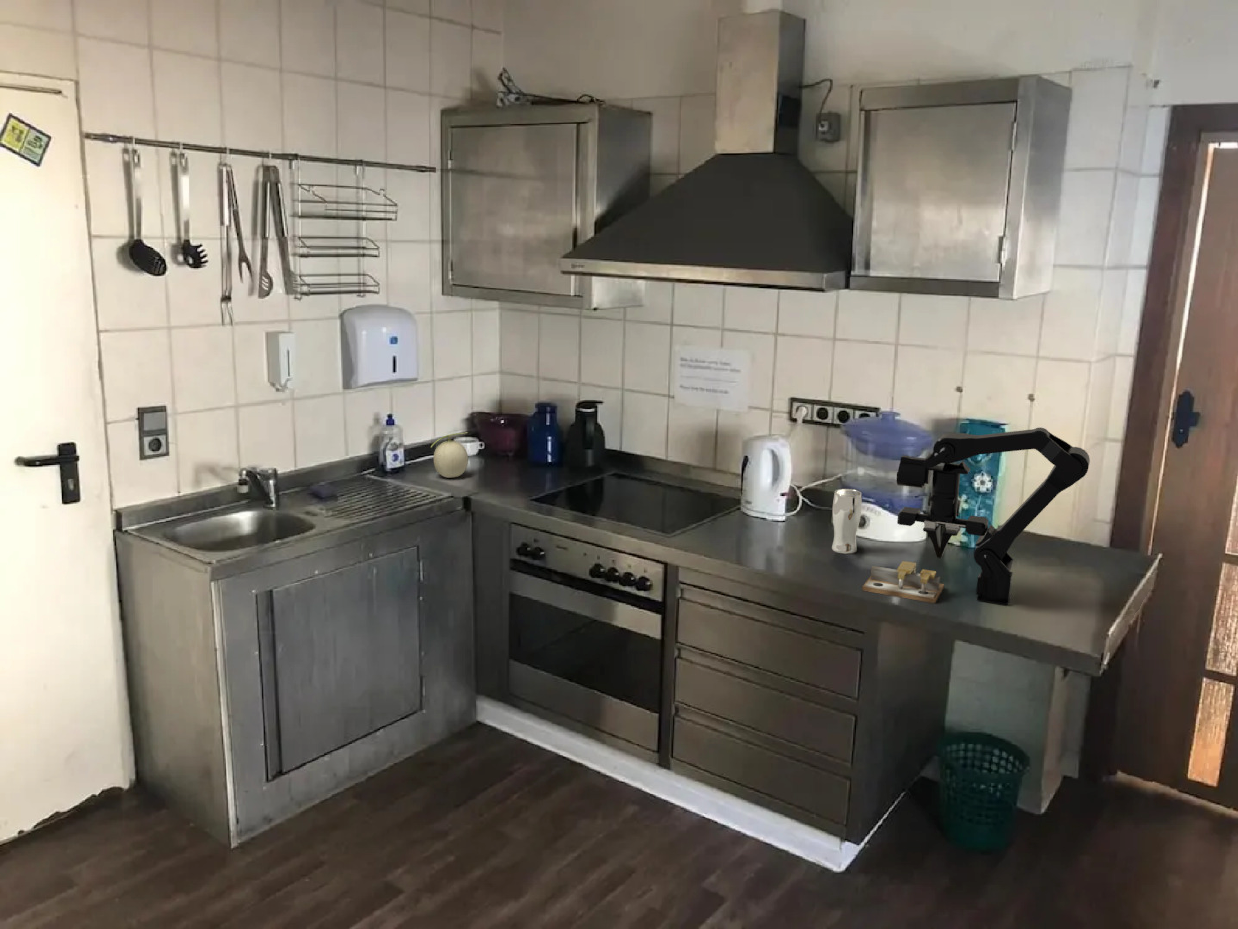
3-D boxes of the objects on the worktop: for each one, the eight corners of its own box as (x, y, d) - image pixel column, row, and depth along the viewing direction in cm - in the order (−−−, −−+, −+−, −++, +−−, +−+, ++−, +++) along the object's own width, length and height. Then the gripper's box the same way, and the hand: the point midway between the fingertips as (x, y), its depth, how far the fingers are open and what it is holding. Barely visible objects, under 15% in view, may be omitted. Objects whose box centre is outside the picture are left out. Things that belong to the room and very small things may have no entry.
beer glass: (833, 543, 262) (836, 487, 258) (860, 547, 259) (864, 490, 256) (827, 552, 256) (831, 494, 252) (855, 556, 253) (859, 497, 249)
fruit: (427, 474, 323) (426, 428, 319) (463, 471, 327) (462, 425, 324) (435, 483, 314) (434, 435, 310) (472, 479, 318) (471, 432, 314)
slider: (914, 578, 235) (916, 563, 234) (906, 590, 228) (908, 575, 227) (901, 576, 236) (902, 560, 236) (893, 588, 229) (894, 572, 228)
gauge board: (943, 588, 233) (945, 568, 232) (935, 603, 224) (937, 582, 223) (873, 576, 240) (874, 556, 239) (862, 590, 231) (863, 570, 230)
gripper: (994, 487, 229) (988, 553, 233) (909, 476, 238) (905, 541, 241) (987, 499, 220) (980, 568, 224) (899, 488, 228) (894, 555, 232)
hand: (939, 557), depth 230 cm, fingers closed
